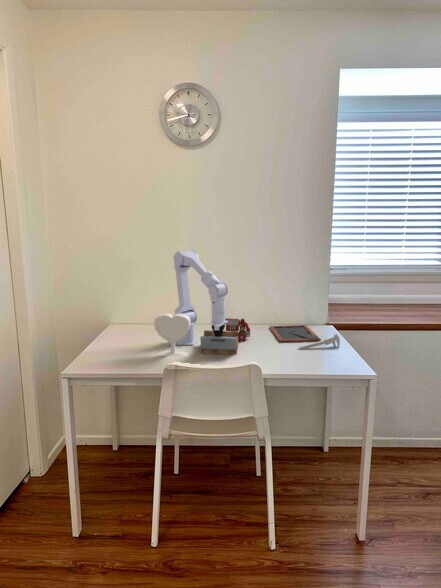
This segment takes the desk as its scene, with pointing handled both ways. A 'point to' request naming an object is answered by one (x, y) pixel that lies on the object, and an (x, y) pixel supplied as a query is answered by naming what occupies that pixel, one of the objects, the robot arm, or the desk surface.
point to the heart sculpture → (172, 330)
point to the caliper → (323, 342)
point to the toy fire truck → (234, 326)
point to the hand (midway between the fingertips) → (218, 341)
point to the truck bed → (224, 334)
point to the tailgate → (218, 342)
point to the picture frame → (294, 333)
